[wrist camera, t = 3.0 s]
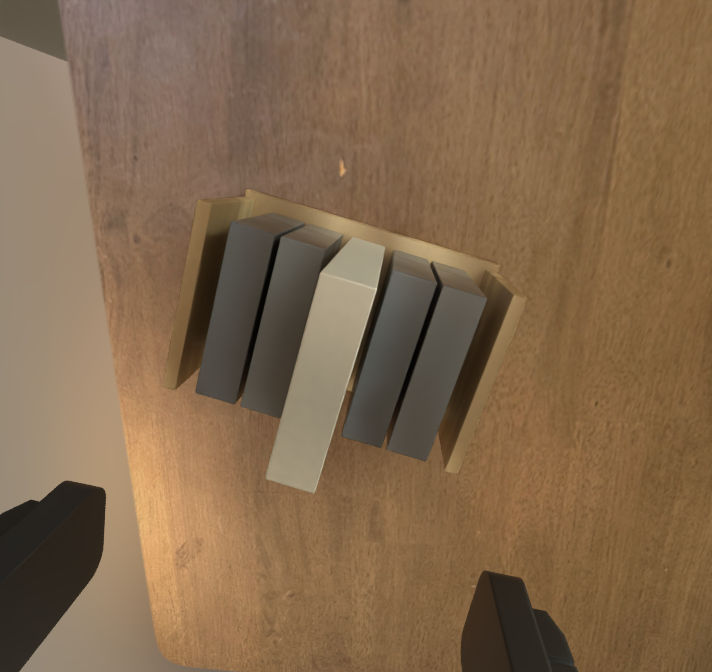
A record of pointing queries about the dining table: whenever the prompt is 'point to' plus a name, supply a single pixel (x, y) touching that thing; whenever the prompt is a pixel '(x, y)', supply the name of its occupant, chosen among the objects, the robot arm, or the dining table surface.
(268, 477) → the white book
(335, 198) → the dining table surface
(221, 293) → the grey rack
